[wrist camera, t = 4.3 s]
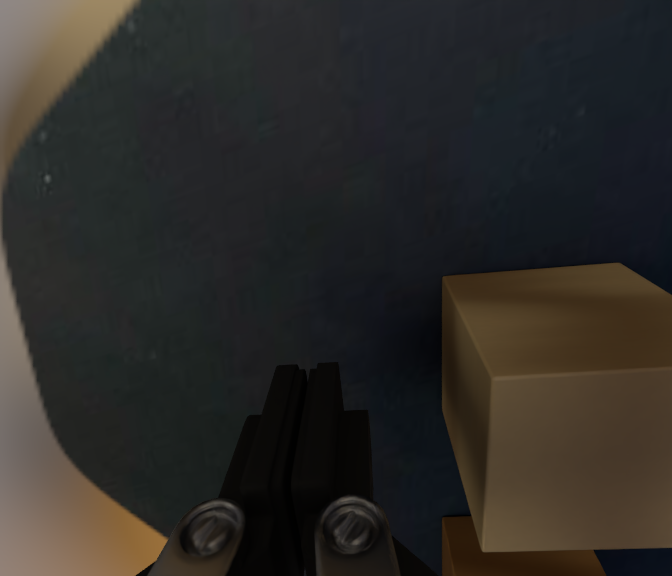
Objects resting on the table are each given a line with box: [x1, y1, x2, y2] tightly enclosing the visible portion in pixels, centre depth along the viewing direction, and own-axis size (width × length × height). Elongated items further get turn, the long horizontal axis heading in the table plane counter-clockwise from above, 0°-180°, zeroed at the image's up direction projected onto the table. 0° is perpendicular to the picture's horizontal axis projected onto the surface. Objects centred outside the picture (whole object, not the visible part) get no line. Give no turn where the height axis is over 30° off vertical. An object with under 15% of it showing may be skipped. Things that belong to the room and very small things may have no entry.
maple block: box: [442, 263, 672, 552], centre depth 11 cm, size 5×5×5 cm
